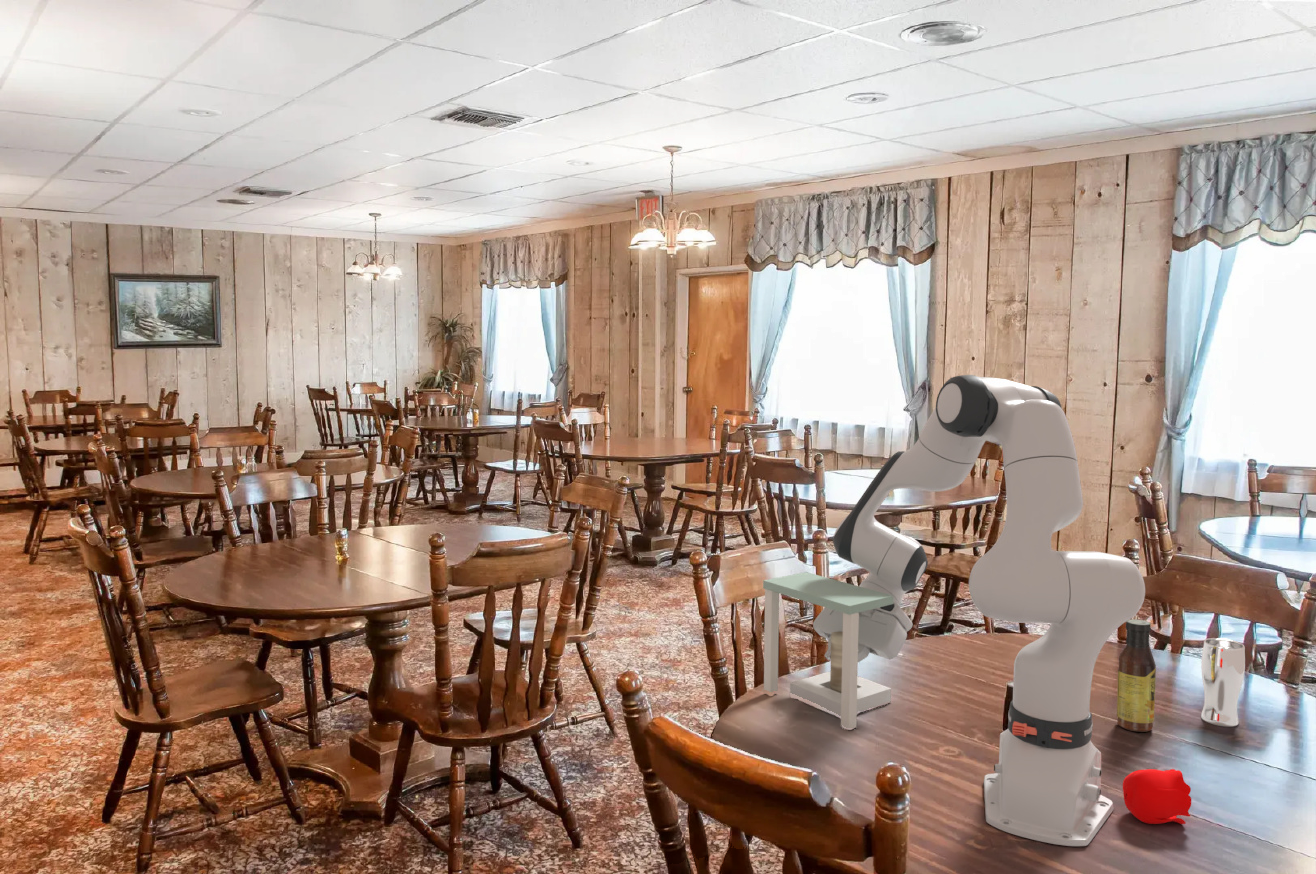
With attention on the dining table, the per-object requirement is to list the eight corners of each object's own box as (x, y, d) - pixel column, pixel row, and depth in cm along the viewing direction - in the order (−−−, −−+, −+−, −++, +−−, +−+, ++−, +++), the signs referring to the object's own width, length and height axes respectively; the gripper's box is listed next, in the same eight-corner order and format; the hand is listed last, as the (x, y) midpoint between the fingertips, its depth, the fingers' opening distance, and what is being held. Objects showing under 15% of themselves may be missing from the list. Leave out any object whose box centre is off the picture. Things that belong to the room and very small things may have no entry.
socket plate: (838, 682, 196) (838, 668, 196) (890, 703, 185) (891, 688, 185) (790, 697, 188) (790, 682, 188) (841, 719, 177) (842, 704, 176)
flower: (1110, 769, 144) (1163, 768, 144) (1119, 823, 142) (1173, 822, 142) (1132, 769, 137) (1188, 768, 137) (1142, 826, 134) (1199, 826, 134)
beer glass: (1229, 714, 180) (1234, 638, 178) (1248, 728, 173) (1253, 649, 171) (1191, 712, 180) (1196, 637, 179) (1209, 727, 173) (1213, 648, 172)
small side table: (804, 682, 197) (806, 572, 194) (890, 716, 178) (893, 595, 176) (761, 694, 190) (763, 580, 187) (846, 732, 171) (849, 606, 169)
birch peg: (850, 697, 184) (852, 638, 183) (830, 696, 185) (831, 637, 184) (850, 690, 188) (851, 632, 187) (829, 689, 189) (830, 631, 187)
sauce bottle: (1158, 735, 170) (1163, 628, 168) (1121, 732, 171) (1126, 626, 169) (1147, 721, 176) (1152, 618, 174) (1111, 718, 177) (1116, 616, 176)
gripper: (827, 586, 197) (793, 640, 192) (905, 608, 181) (870, 667, 176) (842, 604, 200) (808, 657, 195) (919, 627, 184) (885, 685, 179)
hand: (838, 662), depth 185 cm, fingers closed on birch peg, 4 cm apart
